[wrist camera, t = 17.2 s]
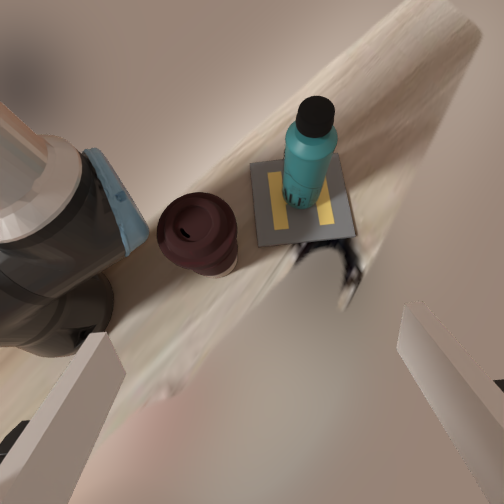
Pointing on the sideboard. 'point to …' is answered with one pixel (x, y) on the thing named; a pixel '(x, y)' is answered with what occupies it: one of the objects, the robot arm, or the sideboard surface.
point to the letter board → (299, 220)
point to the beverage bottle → (308, 152)
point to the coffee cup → (199, 234)
